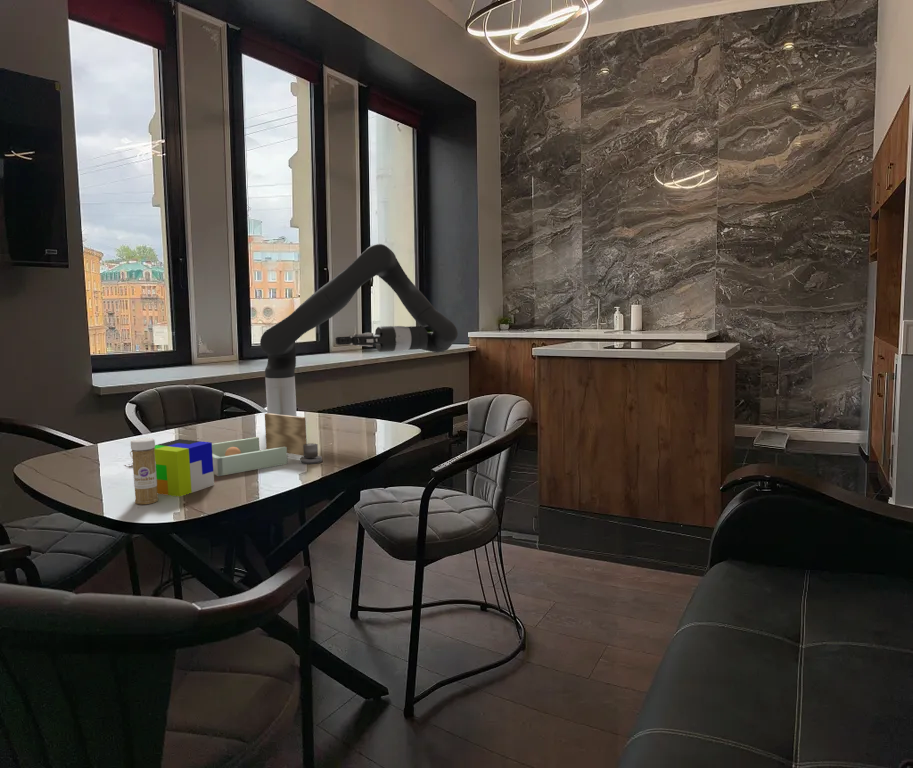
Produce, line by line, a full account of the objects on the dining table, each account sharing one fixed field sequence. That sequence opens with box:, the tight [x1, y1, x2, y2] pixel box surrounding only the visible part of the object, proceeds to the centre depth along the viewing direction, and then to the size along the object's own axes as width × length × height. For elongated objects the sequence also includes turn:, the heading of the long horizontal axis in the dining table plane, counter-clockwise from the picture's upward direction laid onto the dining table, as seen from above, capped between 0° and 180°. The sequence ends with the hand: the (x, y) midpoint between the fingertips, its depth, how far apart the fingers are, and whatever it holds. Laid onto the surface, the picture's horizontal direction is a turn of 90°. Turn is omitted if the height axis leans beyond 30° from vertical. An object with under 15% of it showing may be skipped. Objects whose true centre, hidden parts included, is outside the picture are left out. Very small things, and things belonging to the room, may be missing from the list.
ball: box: [225, 447, 241, 456], centre depth 175 cm, size 4×4×4 cm
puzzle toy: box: [154, 438, 215, 498], centre depth 151 cm, size 10×10×10 cm
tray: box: [212, 436, 288, 477], centre depth 173 cm, size 18×18×4 cm
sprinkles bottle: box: [130, 437, 159, 506], centre depth 140 cm, size 5×5×13 cm
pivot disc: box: [299, 455, 323, 465], centre depth 174 cm, size 6×6×1 cm
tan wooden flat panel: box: [264, 412, 319, 458], centre depth 178 cm, size 18×4×10 cm, turn 57°
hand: (336, 340), depth 193 cm, fingers closed
